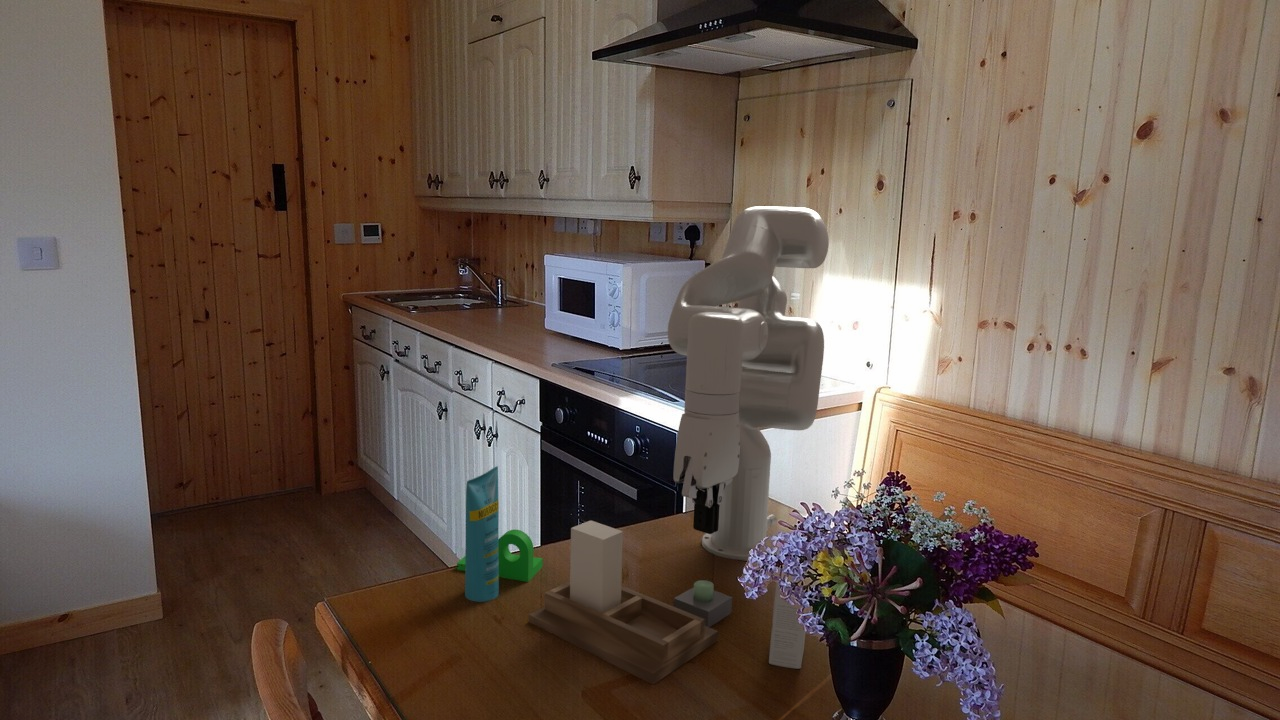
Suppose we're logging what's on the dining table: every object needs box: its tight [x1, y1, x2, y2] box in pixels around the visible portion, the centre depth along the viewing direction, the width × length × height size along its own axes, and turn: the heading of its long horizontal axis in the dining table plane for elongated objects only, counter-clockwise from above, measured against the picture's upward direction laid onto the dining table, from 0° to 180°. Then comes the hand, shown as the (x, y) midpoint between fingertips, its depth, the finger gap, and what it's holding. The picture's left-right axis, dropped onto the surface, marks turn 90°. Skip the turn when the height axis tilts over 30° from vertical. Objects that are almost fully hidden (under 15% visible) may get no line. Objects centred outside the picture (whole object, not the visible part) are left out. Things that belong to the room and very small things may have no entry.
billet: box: [569, 519, 624, 613], centre depth 115 cm, size 4×6×12 cm, turn 51°
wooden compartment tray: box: [528, 580, 719, 685], centre depth 113 cm, size 14×22×4 cm, turn 51°
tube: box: [464, 465, 500, 603], centre depth 120 cm, size 7×5×19 cm, turn 161°
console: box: [673, 586, 733, 628], centre depth 119 cm, size 6×6×2 cm
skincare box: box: [768, 581, 806, 670], centre depth 107 cm, size 6×4×12 cm
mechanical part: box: [456, 529, 544, 583], centre depth 130 cm, size 12×6×8 cm, turn 75°
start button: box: [693, 579, 714, 602], centre depth 119 cm, size 3×3×2 cm
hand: (705, 530), depth 116 cm, fingers closed
